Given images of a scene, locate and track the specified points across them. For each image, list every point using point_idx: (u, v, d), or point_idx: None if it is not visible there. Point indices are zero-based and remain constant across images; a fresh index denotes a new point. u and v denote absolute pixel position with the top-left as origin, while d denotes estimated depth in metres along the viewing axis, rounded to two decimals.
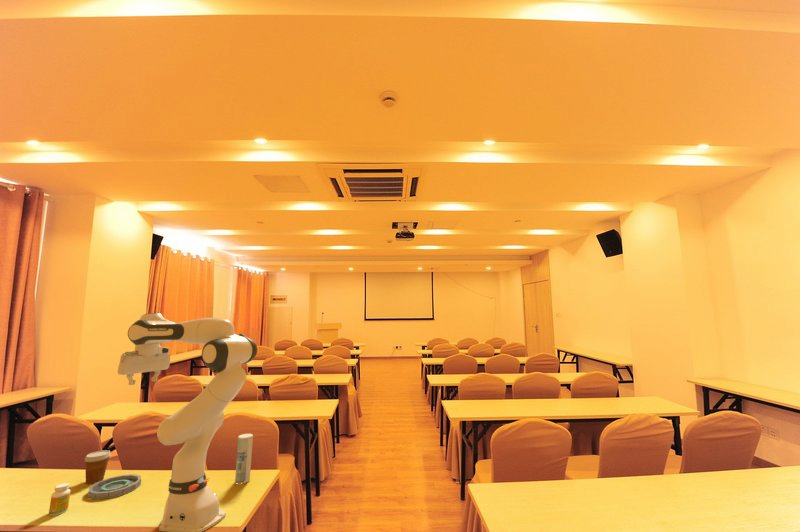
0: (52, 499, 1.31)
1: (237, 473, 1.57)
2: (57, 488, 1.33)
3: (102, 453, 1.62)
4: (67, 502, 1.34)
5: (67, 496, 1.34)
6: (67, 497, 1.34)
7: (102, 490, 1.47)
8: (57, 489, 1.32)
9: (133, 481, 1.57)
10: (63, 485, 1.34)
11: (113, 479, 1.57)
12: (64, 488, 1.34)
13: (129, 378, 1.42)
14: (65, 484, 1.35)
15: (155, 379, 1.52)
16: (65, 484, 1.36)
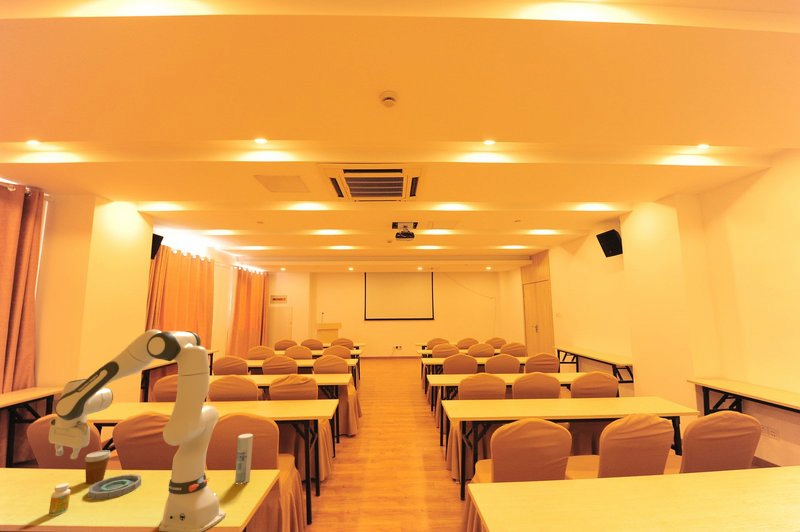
0: (52, 499, 1.31)
1: (237, 473, 1.57)
2: (57, 488, 1.33)
3: (102, 453, 1.62)
4: (67, 502, 1.34)
5: (67, 496, 1.34)
6: (67, 497, 1.34)
7: (102, 490, 1.47)
8: (57, 489, 1.32)
9: (133, 481, 1.57)
10: (63, 485, 1.34)
11: (113, 479, 1.57)
12: (64, 488, 1.34)
13: (77, 451, 1.35)
14: (65, 484, 1.35)
15: None
16: (64, 484, 1.36)
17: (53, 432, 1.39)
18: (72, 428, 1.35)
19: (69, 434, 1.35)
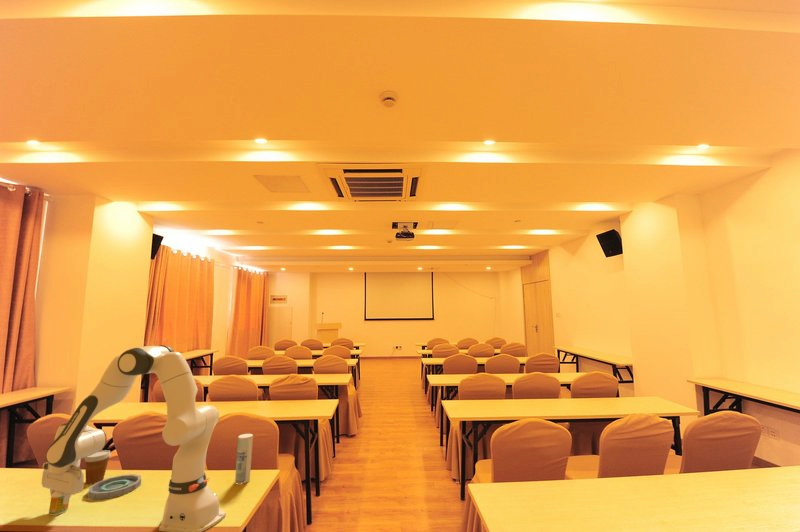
0: (52, 499, 1.31)
1: (237, 473, 1.57)
2: (57, 488, 1.33)
3: (102, 453, 1.62)
4: None
5: None
6: None
7: (102, 490, 1.47)
8: None
9: (133, 481, 1.57)
10: None
11: (113, 479, 1.57)
12: None
13: (69, 496, 1.33)
14: None
15: None
16: None
17: (46, 476, 1.36)
18: (65, 473, 1.32)
19: (62, 479, 1.33)
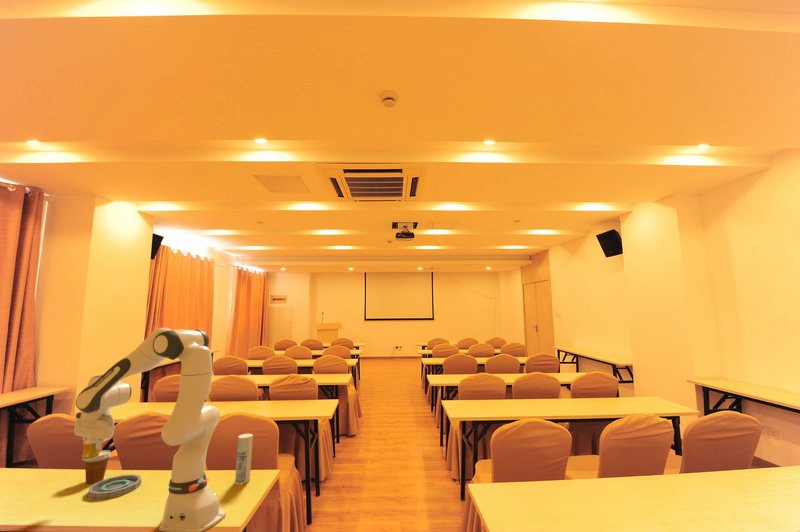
0: (85, 445, 1.42)
1: (237, 473, 1.57)
2: (89, 436, 1.43)
3: (102, 453, 1.62)
4: (98, 449, 1.45)
5: None
6: None
7: (102, 490, 1.47)
8: (89, 436, 1.43)
9: (133, 481, 1.57)
10: None
11: (113, 479, 1.57)
12: None
13: (101, 442, 1.43)
14: None
15: None
16: None
17: (78, 425, 1.46)
18: (97, 420, 1.43)
19: (95, 426, 1.43)
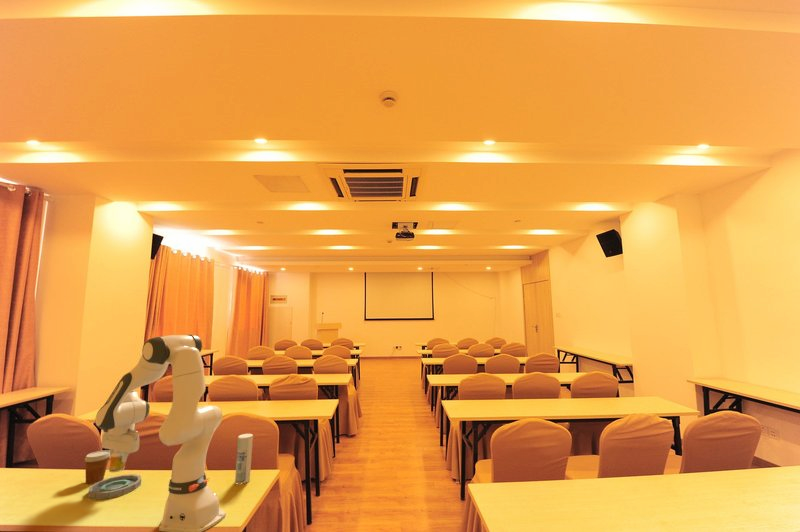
0: (112, 458, 1.51)
1: (237, 473, 1.57)
2: (116, 449, 1.52)
3: (102, 453, 1.62)
4: None
5: None
6: None
7: (102, 490, 1.47)
8: (116, 450, 1.52)
9: (133, 481, 1.57)
10: None
11: (113, 479, 1.57)
12: None
13: (126, 455, 1.52)
14: None
15: None
16: None
17: (106, 438, 1.56)
18: (124, 435, 1.52)
19: (121, 440, 1.53)
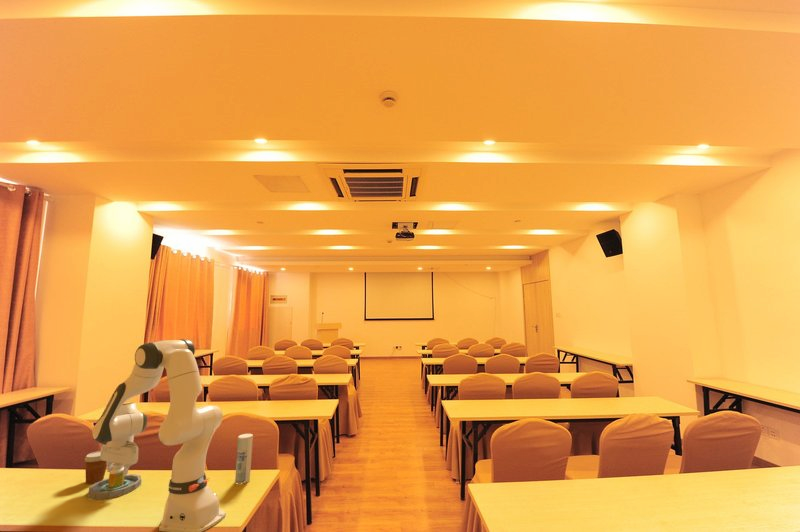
0: (110, 475, 1.50)
1: (237, 473, 1.57)
2: (114, 466, 1.51)
3: None
4: (123, 478, 1.53)
5: None
6: None
7: (102, 490, 1.47)
8: (114, 467, 1.51)
9: (133, 481, 1.57)
10: (119, 464, 1.53)
11: None
12: (120, 466, 1.52)
13: (127, 468, 1.51)
14: None
15: None
16: None
17: (104, 451, 1.55)
18: (122, 447, 1.51)
19: (120, 453, 1.52)
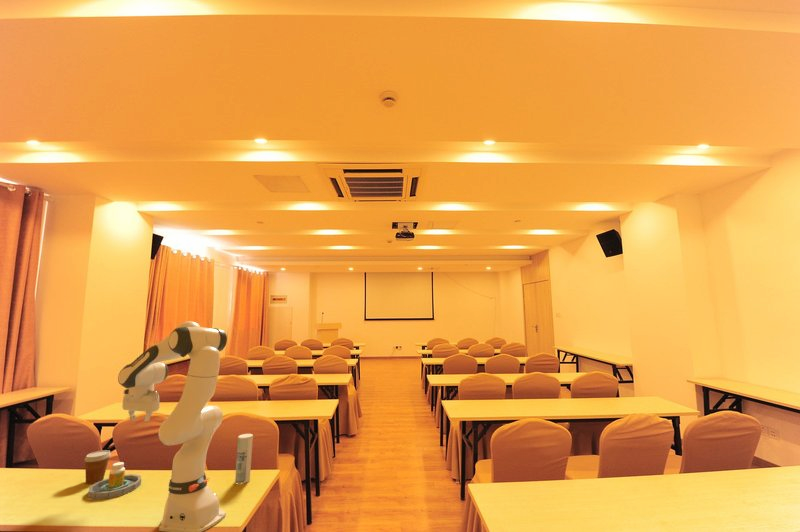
0: (110, 475, 1.50)
1: (237, 473, 1.57)
2: (114, 466, 1.51)
3: (102, 453, 1.62)
4: (123, 478, 1.53)
5: (123, 473, 1.53)
6: (123, 474, 1.53)
7: (102, 490, 1.47)
8: (114, 467, 1.51)
9: (133, 481, 1.57)
10: (119, 464, 1.53)
11: None
12: (120, 466, 1.52)
13: (149, 415, 1.58)
14: (120, 463, 1.54)
15: None
16: (120, 462, 1.54)
17: (126, 400, 1.62)
18: (144, 395, 1.59)
19: (142, 401, 1.59)
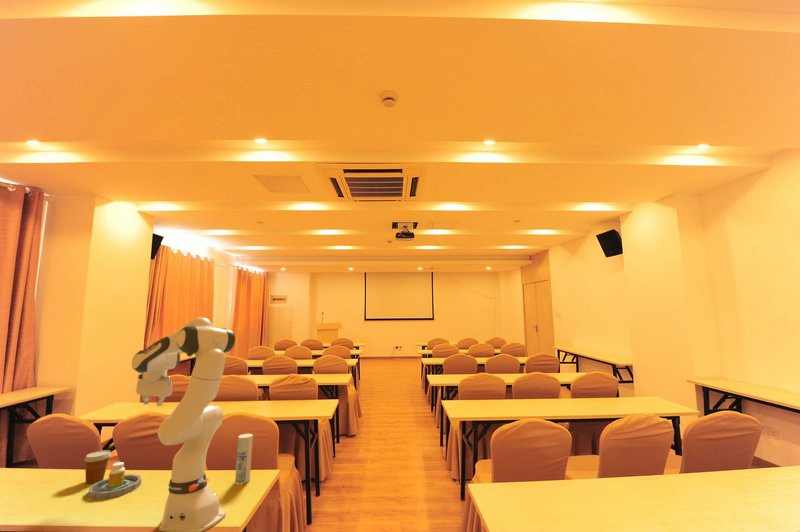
0: (110, 475, 1.50)
1: (237, 473, 1.57)
2: (114, 466, 1.51)
3: (102, 453, 1.62)
4: (123, 478, 1.53)
5: (123, 473, 1.53)
6: (123, 474, 1.53)
7: (102, 490, 1.47)
8: (114, 467, 1.51)
9: (133, 481, 1.57)
10: (119, 464, 1.53)
11: None
12: (120, 466, 1.52)
13: (162, 400, 1.62)
14: (120, 463, 1.54)
15: None
16: (120, 462, 1.54)
17: (140, 385, 1.66)
18: (158, 381, 1.63)
19: (155, 386, 1.63)
